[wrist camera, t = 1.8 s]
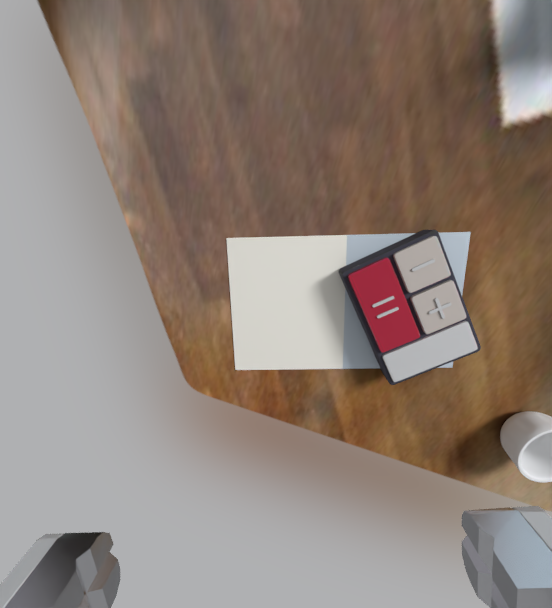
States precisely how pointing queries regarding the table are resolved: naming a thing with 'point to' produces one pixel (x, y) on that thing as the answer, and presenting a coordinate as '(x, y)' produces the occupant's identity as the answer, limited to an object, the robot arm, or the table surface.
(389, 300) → the calculator
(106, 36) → the table surface
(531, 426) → the teacup
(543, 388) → the table surface
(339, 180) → the table surface
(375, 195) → the table surface
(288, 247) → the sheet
